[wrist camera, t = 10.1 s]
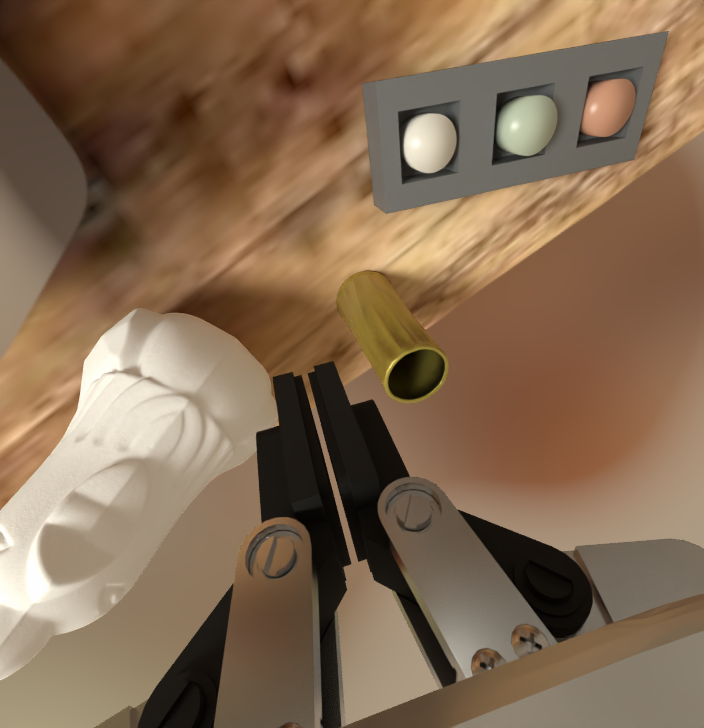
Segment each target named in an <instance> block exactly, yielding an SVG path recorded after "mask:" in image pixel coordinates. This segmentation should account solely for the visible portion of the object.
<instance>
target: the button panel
mask: <svg viewBox="0 0 704 728" xmlns="http://www.w3.org/2000/svg"><path fill="white" fill-rule="evenodd" d="M668 32H669V31H666V32H660V33H654V34H648V35H642V36H636V37H630V38H624V39H618V40H613V41H607V42H601V43H595V44H589V45H584V46H578V47H572V48H566V49H560V50H554V51H549V52H543V53H537V54H531V55H525V56H520V57H514V58H508V59H502V60H496V61H491V62H485V63H479V64H473V65H467V66H461V67H456V68H450V69H444V70H438V71H432V72H427V73H421V74H415V75H409V76H403V77H397V78H392V79H386V80H380V81H374V82H368V83H363V84H362V86H363V96H364V107H365V117H366V127H367V137H368V148H369V158H370V168H371V178H372V188H373V199H374V205H375V206H376V207H378V208H379V209H381V210H382V211H383V212H385V213H386V214H388V213H392V212H397V211H401V210H406V209H411V208H415V207H420V206H424V205H429V204H434V203H438V202H443V201H447V200H452V199H456V198H461V197H466V196H470V195H475V194H479V193H484V192H489V191H493V190H498V189H502V188H507V187H511V186H516V185H521V184H525V183H530V182H534V181H539V180H543V179H548V178H553V177H557V176H562V175H566V174H571V173H576V172H580V171H585V170H589V169H594V168H598V167H603V166H608V165H612V164H617V163H621V162H626V161H630V160H634V158H635V155H636V151H637V147H638V143H639V140H640V136H641V132H642V129H643V125H644V121H645V118H646V114H647V110H648V106H649V103H650V99H651V95H652V92H653V88H654V84H655V81H656V77H657V73H658V69H659V66H660V62H661V58H662V55H663V51H664V47H665V43H666V40H667V36H668ZM609 79H627V80H629V81H631V82H632V84H633V85H634V88H635V93H636V98H635V104H634V108H633V110H632V113H631V115H630V117H629V119H628V120H627V122H626V123H625V124H624V126H623V127H622V128H621V129H620V130H619V131H617V132H616V133H615V134H613V135H611V136H608V137H598V136H587V135H579V130H580V124H581V119H582V113H583V108H584V103H585V97H586V92H587V87H588V83H590V82H592V81H595V80H609ZM533 95H543V96H547V97H549V98H550V99H552V101H553V102H554V104H555V106H556V109H557V125H556V129H555V131H554V134H553V136H552V138H551V140H550V141H549V142H548V144H547V145H546V146H545V147H544V148H543V149H542V150H541V151H539V152H538V153H536V154H534V155H531V156H523V155H517V154H512V153H506V152H503V151H501V150H499V149H498V148H497V146H496V145H495V143H494V127H495V117H496V114H497V113H498V111H499V109H500V108H501V107H502V105H503V104H504V103H505V102H506V101H508V100H509V99H511V98H513V97H516V96H533ZM418 113H433V114H441V115H444V116H446V117H447V118H448V119H449V120H450V121H451V122H452V124H453V125H454V128H455V131H456V148H455V151H454V154H453V156H452V158H451V160H450V161H449V162H448V164H447V165H446V166H445V167H444V168H442V169H441V170H439V171H437V172H434V173H424V172H421V171H418V170H415V169H413V168H410V167H408V166H406V165H405V164H404V163H403V162H402V161H401V159H400V141H399V130H400V128H401V126H402V125H403V123H404V122H405V121H406V120H407V119H408V118H409V117H411V116H412V115H415V114H418Z"/></svg>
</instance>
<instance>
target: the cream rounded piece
mask: <svg viewBox="0 0 704 728" xmlns="http://www.w3.org/2000/svg"><path fill="white" fill-rule="evenodd" d="M399 141H400V159H401V161H402V162H403V163H404V164H405V165H406V166H408V167H410V168H413V169H415V170H418V171H421V172H424V173H434V172H437V171H439V170H441V169H442V168H444V167H445V166H446V165H447V164H448V162H449V161H450V160H451V158H452V156H453V154H454V151H455V148H456V131H455V128H454V125H453V124H452V122H451V121H450V120H449V119H448V118H447V117H446V116H444V115H441V114H433V113H418V114H415V115H412V116H411V117H409V118H408V119H407V120H406V121H405V122H404V123H403V125H402V126H401V128H400V130H399Z"/></svg>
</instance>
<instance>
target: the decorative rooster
mask: <svg viewBox="0 0 704 728" xmlns="http://www.w3.org/2000/svg"><path fill="white" fill-rule="evenodd" d="M271 389H272V388H271V381H270V378H269V375H268V373H267V371H266V370H265V368H264V367H263V366H262V365H261V364H260V363H259V362H258V361H257V359H256V358H255V357H254V356H253V355H252V354H251V353H250V352H249V351H248V350H247V349H246V348H245V347H244V346H243V345H242V344H241V343H240V342H239V340H238V339H237V338H235V337H234V336H232V335H230V334H228V333H226V332H224V331H223V330H221V329H219V328H217V327H215V326H214V325H212V324H210V323H208V322H206V321H204V320H203V319H200V318H198V317H195V316H192V315H189V314H184V313H166V314H159V313H156V312H153V311H150V310H148V309H144V308H137V309H135V310H133V311H132V312H131V313H129V314H128V315H127V316H126V317H124V318H123V319H122V320H121V321H119V322H118V323H117V324H116V325H114V326H113V327H112V328H111V329H110V330H108V331H107V332H106V333H105V334H104V335H103V336H102V337H101V338H100V339H99V341H98V342H97V344H96V345H95V347H94V348H93V350H92V351H91V353H90V354H89V355H88V357H87V358H86V360H85V361H84V368H83V376H82V384H81V392H80V398H79V405H78V410H77V412H76V414H75V416H74V418H73V419H72V421H71V423H70V425H69V427H68V429H67V431H66V433H65V435H64V437H63V438H62V439H61V441H60V442H59V444H58V445H57V446H56V448H55V449H54V450H53V452H52V453H51V454H50V455H49V457H48V458H47V459H46V460H45V461H44V463H43V464H42V465H41V466H40V467H39V468H38V470H37V471H36V472H35V473H34V474H33V475H32V476H31V477H30V479H29V480H28V481H27V482H26V483H25V484H24V485H23V486H22V487H21V489H20V490H19V491H18V492H17V493H16V494H15V495H14V496H13V497H12V498H11V499H10V501H9V502H8V503H7V504H6V505H5V506H4V507H3V508H2V509H1V511H0V680H2V679H4V678H6V677H8V676H10V675H11V674H13V673H14V672H16V671H17V670H19V669H20V668H22V667H23V666H24V665H26V664H27V663H28V662H29V661H30V660H32V659H33V658H34V657H35V656H36V655H37V654H38V653H39V652H40V650H41V649H42V648H43V647H44V646H45V644H46V643H47V642H48V640H49V639H50V638H51V636H53V635H57V634H63V633H66V632H70V631H73V630H76V629H79V628H81V627H84V626H86V625H88V624H90V623H92V622H93V621H95V620H97V619H98V618H100V617H101V616H103V615H105V614H106V613H107V612H108V611H109V610H110V609H111V608H112V607H113V606H114V605H115V604H116V603H118V602H119V601H120V600H121V599H122V598H123V597H124V596H125V595H126V594H127V593H128V591H129V590H130V589H131V588H132V587H133V585H134V584H135V583H136V581H137V580H138V578H139V577H140V575H141V573H142V572H143V571H144V569H145V568H146V566H147V565H148V563H149V562H150V560H151V559H152V557H153V555H154V554H155V552H156V551H157V549H158V548H159V546H160V545H161V543H162V542H163V540H164V539H165V537H166V535H167V534H168V532H169V531H170V530H171V528H172V527H173V525H174V524H175V522H176V521H177V520H178V518H179V517H180V516H181V514H182V513H183V512H184V511H185V509H186V508H187V507H188V506H189V504H190V503H191V502H192V501H193V500H194V498H195V497H196V496H197V495H198V494H199V493H200V492H201V491H202V490H203V488H204V487H205V486H206V485H207V484H208V483H209V482H210V481H211V480H212V479H213V478H214V477H215V476H217V475H219V474H221V473H223V472H225V471H228V470H230V469H232V468H234V467H236V466H238V465H240V464H242V463H244V462H245V461H246V460H247V459H248V458H249V457H250V456H251V455H253V454H254V453H255V452H256V451H257V447H256V432H258V431H262V430H266V429H269V428H273V427H274V426H275V424H276V422H277V420H278V412H277V405H276V400H275V399H274V397H273V396H272V394H271Z"/></svg>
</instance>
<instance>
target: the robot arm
mask: <svg viewBox="0 0 704 728" xmlns="http://www.w3.org/2000/svg"><path fill="white" fill-rule="evenodd" d="M314 369H315V372H311V373H308V376H309V380H310V384H311V388H312V392H313V396H314V399H315V403H316V407H317V411H318V415H319V418H320V422H321V426H322V430H323V434H324V437H325V441H326V445H327V449H328V452H329V456H330V460H331V463H332V467H333V471H334V474H335V478H336V481H337V485H338V489H339V492H340V496H341V500H342V504H343V507H344V511H345V515H346V518H347V522H348V526H349V529H350V532H351V537H352V540H353V544H354V547H355V551H356V555H357V558H358V561H362V560H365V559H367V562H368V565H369V568H370V572H372V574H373V578H374V580H375V581H377V582H378V583H380V584H382V585H384V586H386V587H388V588H389V589H391V590H392V592H393V595H394V597H395V599H396V601H397V603H398V606H399V608H400V610H401V612H402V614H403V616H404V618H405V620H406V622H407V624H408V626H409V628H410V630H411V632H412V634H413V636H414V638H415V640H416V642H417V644H418V647H419V648H420V651H421V653H422V655H423V657H424V659H425V661H426V663H427V665H428V667H429V669H430V671H431V673H432V675H433V677H434V679H435V681H436V684H437V686H438V688H439V690H436V691H433V692H431V693H428V694H426V695H423V696H421V697H418V698H416V699H413V700H410V701H408V702H405V703H403V704H400V705H398V706H395V707H392V708H390V709H387V710H385V711H382V712H379V713H377V714H374V715H372V716H369V717H367V718H364V719H362V720H359V721H356V722H354V723H351V724H349V725H345V710H344V695H343V682H342V666H341V652H340V638H339V637H340V636H339V623H338V612H337V607H338V605H339V604H340V602H341V600H342V598H343V596H344V594H345V592H346V591H347V588H346V583H345V581H346V578H345V573H344V569H343V567H344V566H347V565H350V564H351V561H350V557H349V553H348V549H347V545H346V541H345V537H344V534H343V529H342V526H341V522H340V518H339V514H338V510H337V506H336V502H335V498H334V494H333V490H332V487H331V483H330V479H329V475H328V471H327V467H326V463H325V459H324V456H323V452H322V448H321V444H320V440H319V437H318V433H317V430H316V426H315V422H314V419H313V415H312V411H311V408H310V404H309V400H308V397H307V393H306V390H305V386H304V382H303V379H302V375H300V376H296V377H294V375H293V372H290V373H286V374H283V375H279V376H275V377H273V384H274V391H275V398H276V405H277V412H278V419H279V426H276V427H273V428H269V429H266V430H262V431H258V432H256V447H257V462H258V475H259V491H260V504H261V519H262V523H261V524H260V525H258V526H257V527H255V528H254V529H253V530H252V531H251V532H250V533H249V534H248V535H247V537H246V538H245V540H244V542H243V544H242V545H241V547H240V551H239V554H238V557H237V564H236V571H235V579H234V583H233V584H232V586H231V587H230V589H229V590H228V591H227V592H226V594H225V595H224V597H223V598H222V599H221V601H220V602H219V603H218V605H217V606H216V607H215V609H214V610H213V612H212V613H211V614H210V615H209V617H208V618H207V620H206V621H205V622H204V623H203V625H202V626H201V627H200V629H199V630H198V632H197V633H196V634H195V635H194V637H193V638H192V639H191V641H190V642H189V643H188V645H187V646H186V648H185V649H184V650H183V652H182V653H181V654H180V656H179V657H178V658H177V660H176V661H175V662H174V664H173V665H172V666H171V668H170V669H169V670H168V672H167V673H166V674H165V676H164V677H163V678H162V680H161V681H160V682H159V684H158V685H157V686H156V688H155V690H154V691H153V693H152V694H151V696H150V698H149V699H148V700H146V701H145V702H143V703H141V704H140V705H138V706H137V707H135V708H133V707H131V706H128V707H126V708H125V709H123V710H121V711H120V712H118V713H117V714H115V715H114V716H112V717H110V718H109V719H107V720H105V721H104V722H102V723H101V724H99V725H98V726H96V727H94V728H704V549H703V548H702V547H700V546H698V545H695V544H692V543H690V542H687V541H684V540H676V539H660V540H647V541H635V542H623V543H610V544H597V545H585V546H576V547H575V550H574V551H559V550H558V549H556V548H554V547H552V546H549V545H547V544H544V543H542V542H539V541H536V540H534V539H531V538H529V537H526V536H524V535H521V534H519V533H516V532H513V531H511V530H508V529H506V528H503V527H501V526H498V525H495V524H493V523H491V522H488V521H486V520H483V519H481V518H478V517H476V516H473V515H470V514H468V513H465V512H463V511H460V510H457V509H456V507H455V506H454V505H453V504H452V502H451V501H450V500H449V498H448V497H447V496H446V494H445V493H444V492H443V491H442V490H441V489H440V488H439V487H438V486H437V485H436V484H434V483H433V482H431V481H429V480H427V479H423V478H419V477H410V476H409V474H408V471H407V469H406V467H405V465H404V463H403V461H402V459H401V457H400V454H399V453H398V450H397V448H396V446H395V444H394V442H393V440H392V438H391V436H390V434H389V432H388V429H387V427H386V425H385V423H384V421H383V419H382V417H381V414H380V412H379V410H378V408H377V406H376V404H375V402H374V401H373V400H369V401H365V402H362V403H358V404H355V405H350V403H349V400H348V398H347V395H346V393H345V390H344V387H343V385H342V382H341V380H340V377H339V375H338V372H337V369H336V367H335V364H334V362H333V361H332V362H328V363H324V364H320V365H317V366H314Z"/></svg>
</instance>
